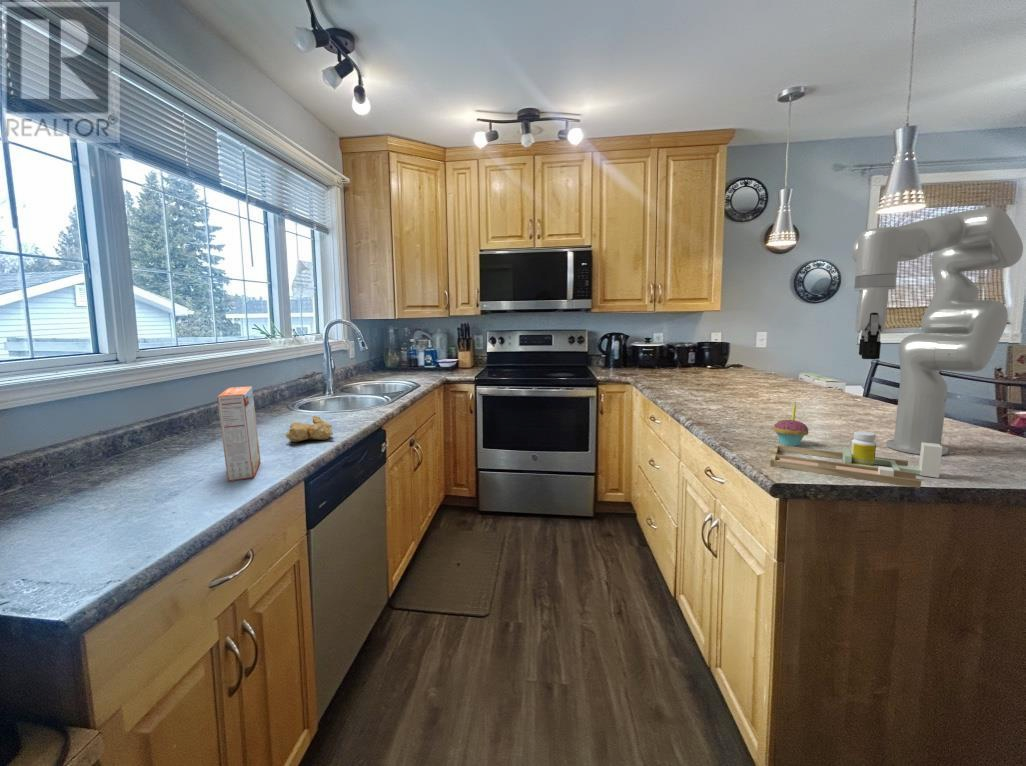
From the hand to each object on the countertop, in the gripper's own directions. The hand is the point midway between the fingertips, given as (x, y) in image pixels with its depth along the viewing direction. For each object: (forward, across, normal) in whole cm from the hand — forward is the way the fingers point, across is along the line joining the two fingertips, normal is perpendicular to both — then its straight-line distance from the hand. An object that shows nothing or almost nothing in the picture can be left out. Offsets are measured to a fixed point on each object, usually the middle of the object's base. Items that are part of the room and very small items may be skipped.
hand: (868, 357), depth 106 cm
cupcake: (+27, -13, -15) cm, 33 cm away
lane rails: (+27, +4, -4) cm, 27 cm away
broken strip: (+26, +9, -6) cm, 29 cm away
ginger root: (+25, +58, -142) cm, 156 cm away
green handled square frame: (+27, +1, +5) cm, 27 cm away
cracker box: (+24, +85, -128) cm, 156 cm away
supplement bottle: (+27, +1, 0) cm, 27 cm away
